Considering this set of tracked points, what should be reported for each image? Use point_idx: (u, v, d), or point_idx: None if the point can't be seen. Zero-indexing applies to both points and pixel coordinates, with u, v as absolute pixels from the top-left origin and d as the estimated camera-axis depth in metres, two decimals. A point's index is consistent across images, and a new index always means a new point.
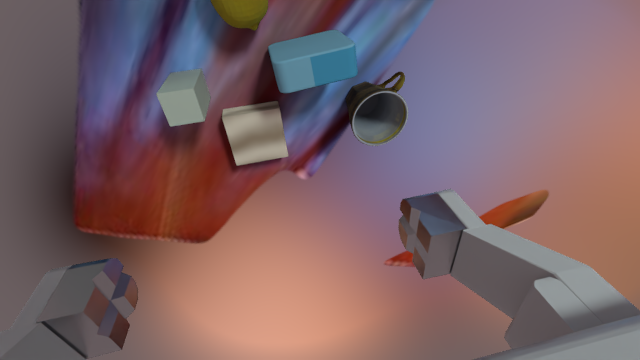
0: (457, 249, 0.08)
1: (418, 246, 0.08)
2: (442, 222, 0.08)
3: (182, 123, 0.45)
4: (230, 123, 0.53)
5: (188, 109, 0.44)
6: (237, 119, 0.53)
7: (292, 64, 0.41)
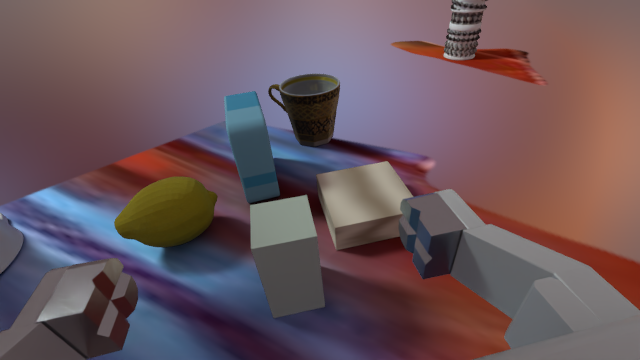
0: (458, 249, 0.08)
1: (418, 246, 0.08)
2: (442, 222, 0.08)
3: (310, 219, 0.24)
4: (344, 218, 0.33)
5: (284, 211, 0.25)
6: (336, 211, 0.34)
7: (231, 118, 0.36)
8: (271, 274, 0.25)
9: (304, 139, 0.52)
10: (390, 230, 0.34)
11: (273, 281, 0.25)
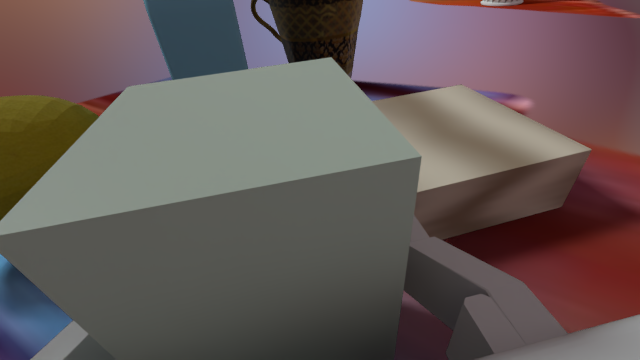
0: None
1: None
2: None
3: (362, 103, 0.05)
4: None
5: (248, 90, 0.06)
6: None
7: None
8: None
9: None
10: (511, 203, 0.15)
11: None
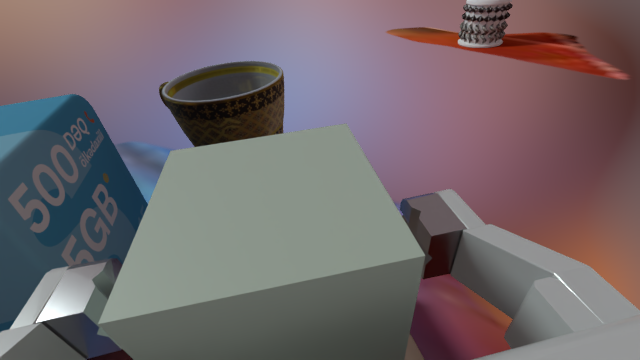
0: (457, 249, 0.08)
1: None
2: (442, 222, 0.08)
3: (376, 189, 0.06)
4: None
5: (278, 165, 0.07)
6: None
7: None
8: None
9: None
10: None
11: None
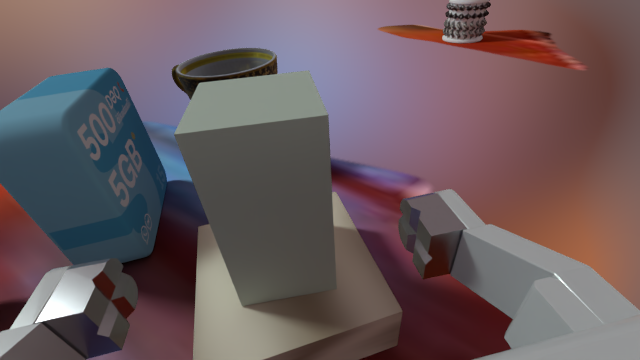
0: (457, 250, 0.08)
1: (418, 246, 0.08)
2: (442, 222, 0.08)
3: (314, 95, 0.12)
4: (222, 348, 0.14)
5: (262, 87, 0.13)
6: (210, 324, 0.15)
7: (0, 114, 0.17)
8: (231, 210, 0.12)
9: None
10: (334, 357, 0.15)
11: (235, 228, 0.12)
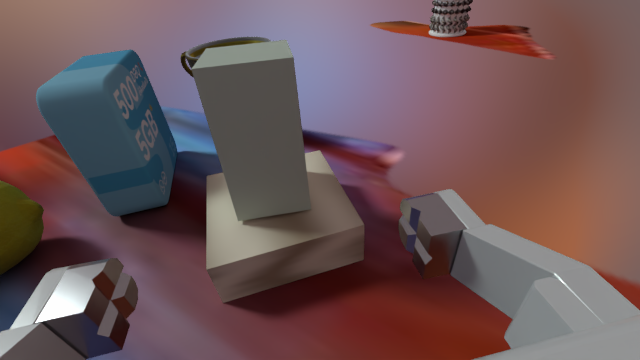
0: (457, 249, 0.08)
1: (418, 246, 0.08)
2: (442, 222, 0.08)
3: (287, 50, 0.17)
4: (228, 249, 0.19)
5: (251, 48, 0.18)
6: (218, 236, 0.20)
7: (53, 80, 0.22)
8: (229, 131, 0.17)
9: None
10: (313, 263, 0.20)
11: (232, 147, 0.17)
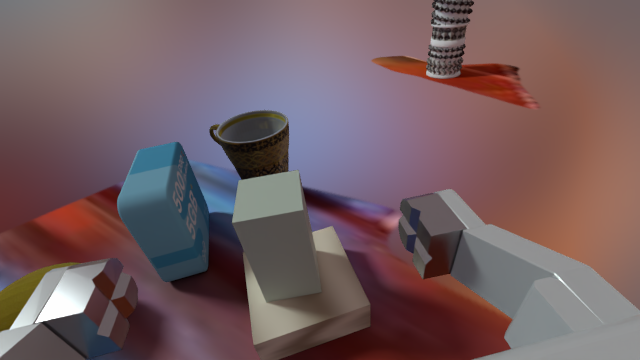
0: (457, 249, 0.08)
1: (418, 246, 0.08)
2: (442, 222, 0.08)
3: (298, 193, 0.22)
4: (267, 326, 0.25)
5: (273, 186, 0.24)
6: (259, 314, 0.26)
7: (127, 188, 0.28)
8: (258, 253, 0.23)
9: None
10: (332, 332, 0.26)
11: (261, 261, 0.23)
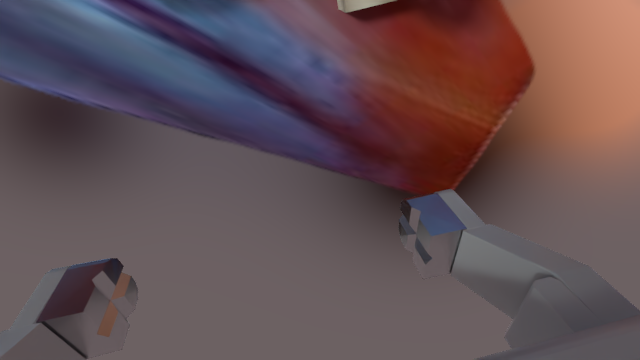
0: (457, 249, 0.08)
1: (418, 246, 0.08)
2: (442, 222, 0.08)
3: None
4: None
5: None
6: None
7: None
8: None
9: None
10: None
11: None
